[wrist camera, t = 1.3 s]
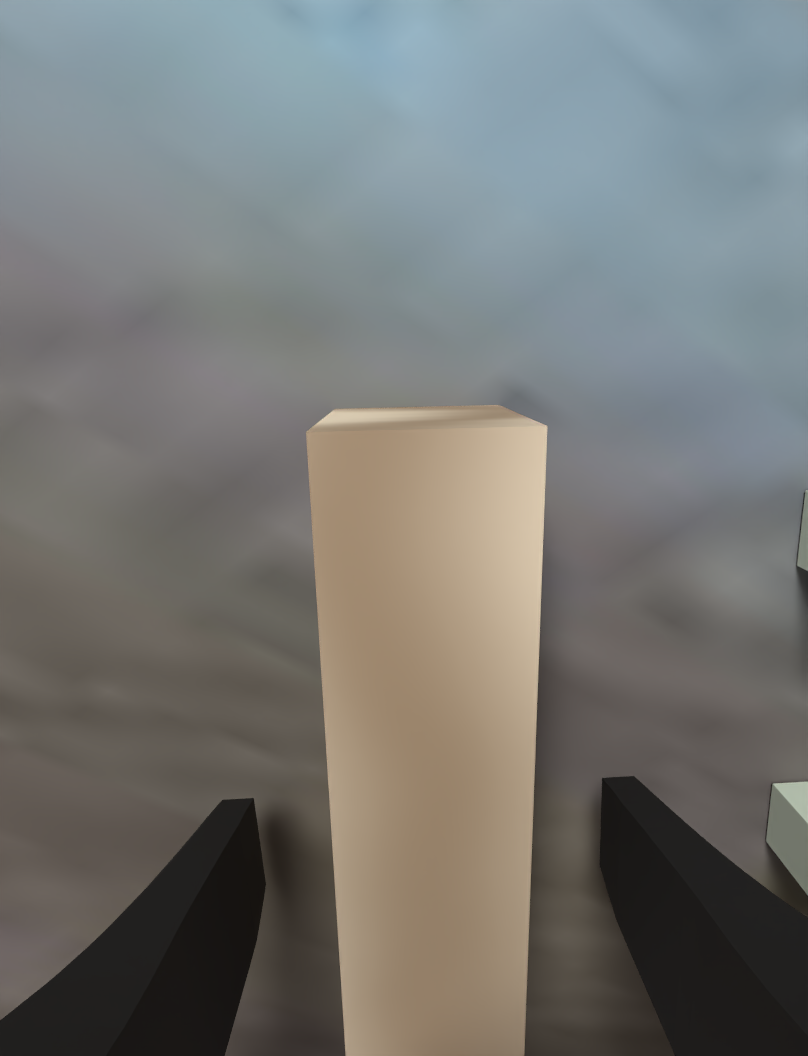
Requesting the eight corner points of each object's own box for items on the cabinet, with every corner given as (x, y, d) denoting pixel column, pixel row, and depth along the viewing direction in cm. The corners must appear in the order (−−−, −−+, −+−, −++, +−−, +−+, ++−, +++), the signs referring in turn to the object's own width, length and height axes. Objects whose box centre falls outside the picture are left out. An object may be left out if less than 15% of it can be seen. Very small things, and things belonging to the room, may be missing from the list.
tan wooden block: (496, 404, 12) (547, 425, 8) (488, 919, 15) (521, 1118, 11) (335, 408, 12) (306, 432, 8) (362, 924, 15) (350, 1124, 11)
